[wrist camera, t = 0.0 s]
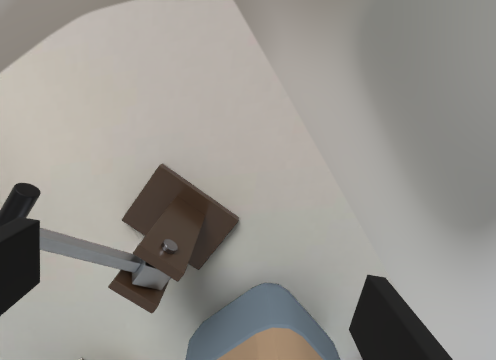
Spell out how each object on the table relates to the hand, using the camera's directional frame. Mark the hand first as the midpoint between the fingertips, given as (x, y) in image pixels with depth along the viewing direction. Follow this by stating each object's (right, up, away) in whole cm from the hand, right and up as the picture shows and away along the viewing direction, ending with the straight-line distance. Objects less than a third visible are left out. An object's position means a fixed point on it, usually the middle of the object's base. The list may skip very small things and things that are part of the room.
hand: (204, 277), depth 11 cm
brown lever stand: (-7, -1, +25) cm, 26 cm away
